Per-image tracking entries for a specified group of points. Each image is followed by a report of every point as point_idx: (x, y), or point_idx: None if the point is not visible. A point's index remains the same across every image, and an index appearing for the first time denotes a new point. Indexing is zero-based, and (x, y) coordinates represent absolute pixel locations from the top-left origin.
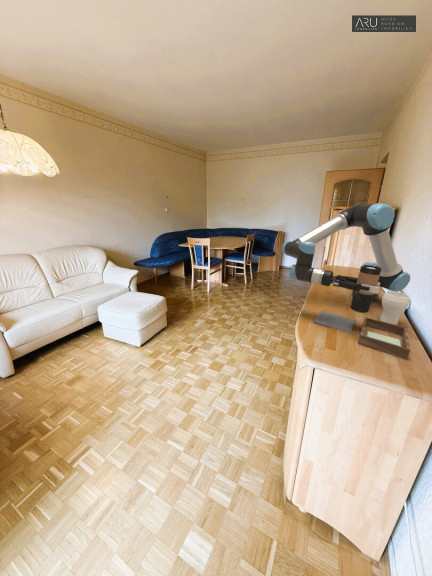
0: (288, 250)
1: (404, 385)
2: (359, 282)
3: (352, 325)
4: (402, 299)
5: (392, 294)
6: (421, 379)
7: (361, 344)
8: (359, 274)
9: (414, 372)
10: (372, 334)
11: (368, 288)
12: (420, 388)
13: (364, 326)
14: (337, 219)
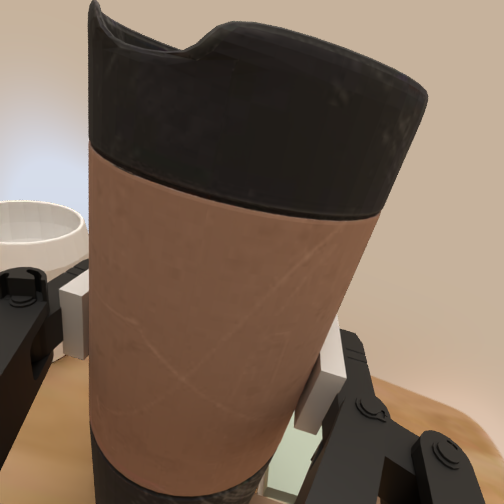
0: None
1: (495, 458)
2: (287, 382)
3: None
4: (84, 234)
5: None
6: (417, 401)
7: None
8: (264, 279)
9: (397, 405)
10: (296, 471)
11: (359, 346)
12: (464, 421)
13: (252, 497)
14: None
